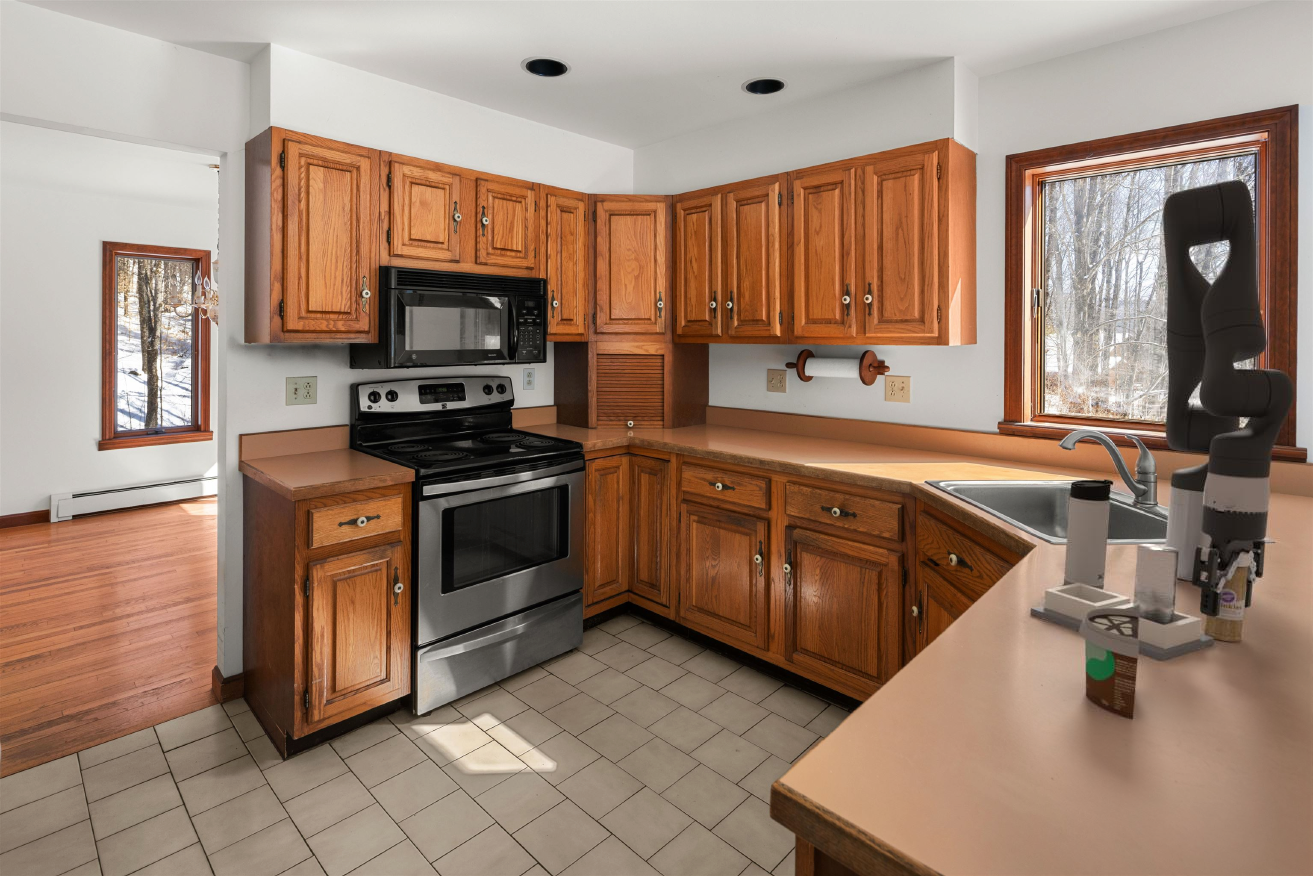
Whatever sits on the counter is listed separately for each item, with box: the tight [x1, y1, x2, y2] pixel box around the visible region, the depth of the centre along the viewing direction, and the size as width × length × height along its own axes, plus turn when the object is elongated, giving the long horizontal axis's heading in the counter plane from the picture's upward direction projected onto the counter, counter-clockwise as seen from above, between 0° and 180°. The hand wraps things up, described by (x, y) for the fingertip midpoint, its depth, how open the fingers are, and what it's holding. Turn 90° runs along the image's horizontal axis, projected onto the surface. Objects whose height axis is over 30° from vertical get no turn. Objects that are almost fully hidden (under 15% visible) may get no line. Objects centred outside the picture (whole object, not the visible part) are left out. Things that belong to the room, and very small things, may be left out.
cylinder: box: [1132, 543, 1179, 625], centre depth 104 cm, size 5×5×13 cm
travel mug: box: [1063, 479, 1114, 590], centre depth 129 cm, size 6×7×20 cm
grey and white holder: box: [1030, 583, 1215, 662], centre depth 110 cm, size 13×20×4 cm, turn 26°
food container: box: [1078, 608, 1140, 720], centre depth 87 cm, size 12×6×10 cm, turn 145°
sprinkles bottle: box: [1203, 552, 1250, 643], centre depth 106 cm, size 5×5×13 cm
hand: (1225, 610), depth 106 cm, fingers open, 8 cm apart
